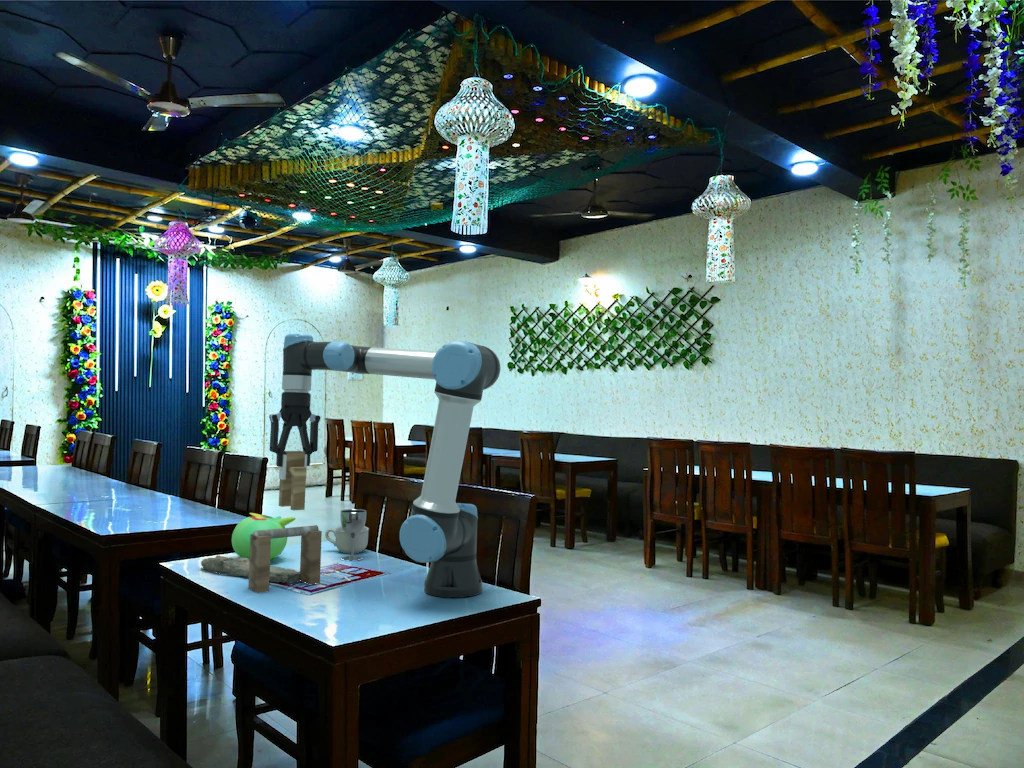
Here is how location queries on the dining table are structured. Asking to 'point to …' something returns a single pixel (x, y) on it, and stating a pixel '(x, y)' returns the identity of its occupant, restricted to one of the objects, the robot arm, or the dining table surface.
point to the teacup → (348, 540)
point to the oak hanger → (293, 481)
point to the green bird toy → (255, 524)
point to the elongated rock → (247, 569)
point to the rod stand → (261, 555)
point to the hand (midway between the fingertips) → (292, 478)
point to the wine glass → (353, 527)
